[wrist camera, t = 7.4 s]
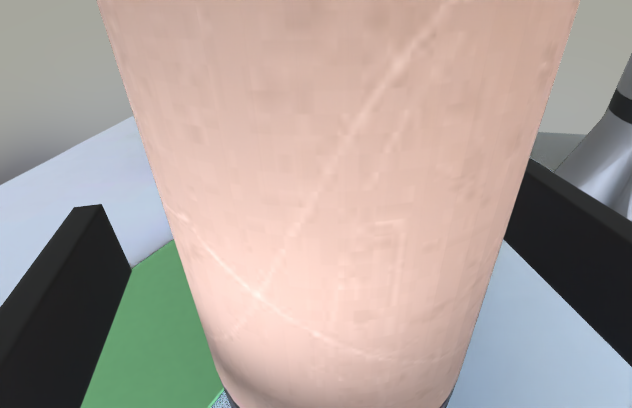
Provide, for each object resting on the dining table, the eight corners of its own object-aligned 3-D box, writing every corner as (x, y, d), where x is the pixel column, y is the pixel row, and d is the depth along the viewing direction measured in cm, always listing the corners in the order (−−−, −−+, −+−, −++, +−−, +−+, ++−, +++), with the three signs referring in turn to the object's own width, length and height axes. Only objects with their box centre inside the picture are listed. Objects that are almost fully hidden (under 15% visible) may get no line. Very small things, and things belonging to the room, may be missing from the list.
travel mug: (403, 358, 19) (493, -160, 8) (447, 555, 12) (1301, -782, 1) (263, 360, 19) (159, -143, 8) (236, 555, 13) (-475, -624, 2)
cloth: (203, 220, 30) (203, 217, 30) (322, 265, 25) (322, 262, 25) (-82, 425, 17) (-87, 422, 17) (47, 615, 12) (42, 614, 11)
